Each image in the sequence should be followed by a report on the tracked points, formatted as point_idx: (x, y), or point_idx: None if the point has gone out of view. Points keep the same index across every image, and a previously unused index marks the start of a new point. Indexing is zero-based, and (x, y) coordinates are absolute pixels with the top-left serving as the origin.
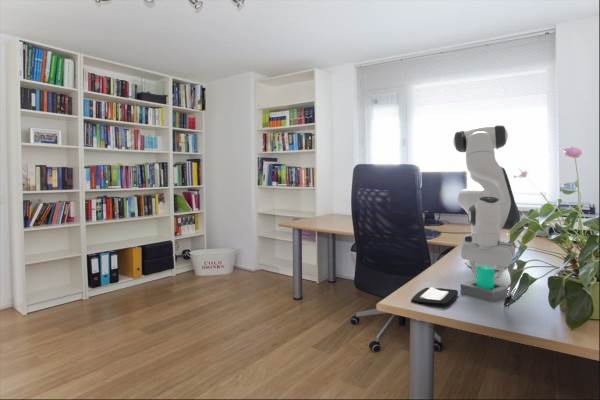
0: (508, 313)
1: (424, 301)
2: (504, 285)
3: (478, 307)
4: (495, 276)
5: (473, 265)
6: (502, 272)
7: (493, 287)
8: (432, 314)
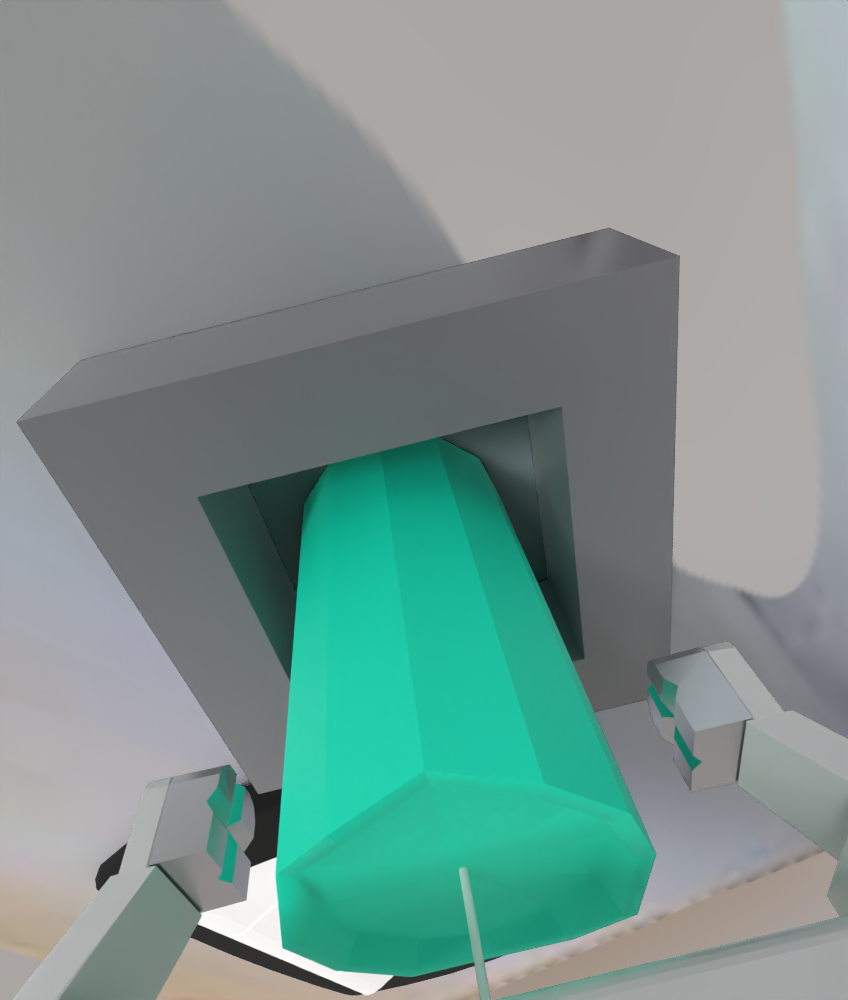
0: (840, 665)
1: (429, 977)
2: (556, 326)
3: (632, 760)
4: (662, 728)
5: (148, 959)
6: (817, 728)
7: (516, 538)
8: (562, 957)
